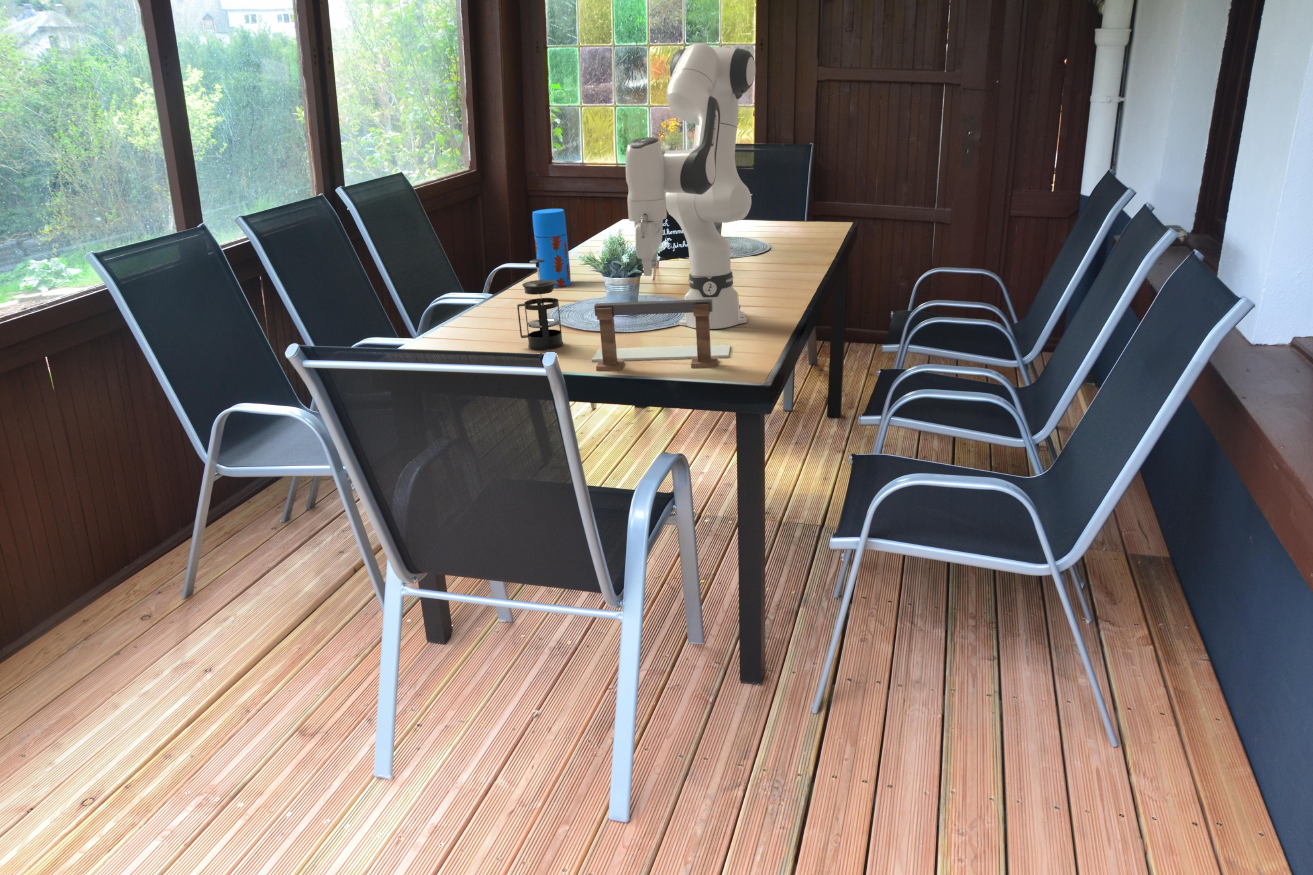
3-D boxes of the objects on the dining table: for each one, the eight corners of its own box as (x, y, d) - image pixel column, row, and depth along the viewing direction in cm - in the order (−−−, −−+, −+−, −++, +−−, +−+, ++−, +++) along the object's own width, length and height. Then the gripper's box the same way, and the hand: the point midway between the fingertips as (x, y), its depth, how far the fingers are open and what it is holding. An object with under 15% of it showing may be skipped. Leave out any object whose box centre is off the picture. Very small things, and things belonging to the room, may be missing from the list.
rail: (596, 313, 245) (595, 303, 244) (712, 309, 242) (712, 299, 241) (595, 316, 243) (594, 305, 242) (712, 311, 239) (711, 301, 239)
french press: (564, 339, 277) (555, 254, 269) (567, 347, 268) (559, 260, 260) (520, 344, 275) (511, 259, 267) (523, 352, 266) (513, 265, 258)
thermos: (537, 284, 352) (529, 211, 344) (567, 280, 355) (560, 207, 347) (543, 289, 342) (535, 214, 334) (574, 285, 345) (567, 211, 337)
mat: (598, 351, 263) (598, 348, 263) (730, 346, 259) (730, 344, 258) (591, 361, 254) (591, 359, 253) (728, 357, 249) (728, 355, 249)
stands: (600, 363, 251) (595, 304, 246) (717, 360, 248) (715, 299, 243) (596, 370, 246) (591, 309, 241) (716, 367, 242) (713, 305, 237)
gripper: (655, 217, 224) (659, 279, 229) (665, 205, 243) (668, 263, 248) (627, 218, 225) (631, 280, 230) (639, 207, 244) (642, 264, 249)
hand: (650, 271), depth 239 cm, fingers open, 8 cm apart
